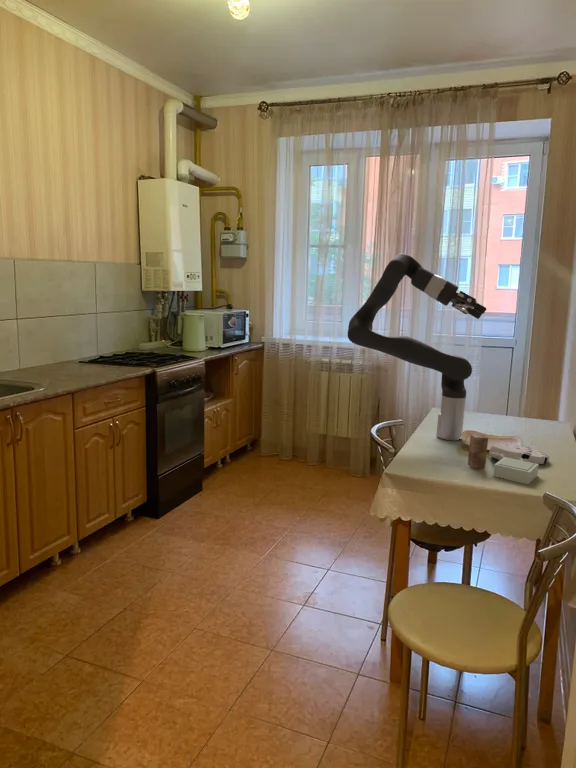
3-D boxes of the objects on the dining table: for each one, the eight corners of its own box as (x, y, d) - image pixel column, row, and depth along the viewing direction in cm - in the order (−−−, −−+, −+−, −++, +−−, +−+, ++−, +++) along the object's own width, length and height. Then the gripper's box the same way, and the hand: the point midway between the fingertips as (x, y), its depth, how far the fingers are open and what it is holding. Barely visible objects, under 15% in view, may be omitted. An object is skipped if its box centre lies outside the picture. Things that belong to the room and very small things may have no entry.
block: (471, 468, 193) (474, 437, 191) (467, 464, 197) (470, 433, 195) (484, 469, 193) (488, 438, 191) (480, 465, 197) (484, 434, 195)
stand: (493, 476, 186) (494, 463, 185) (503, 468, 195) (504, 456, 194) (528, 484, 180) (529, 471, 179) (537, 475, 188) (538, 463, 188)
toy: (478, 449, 216) (491, 462, 197) (481, 437, 216) (494, 449, 196) (536, 460, 215) (555, 475, 195) (539, 448, 214) (559, 462, 194)
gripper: (433, 303, 202) (473, 327, 199) (436, 294, 188) (480, 319, 185) (444, 285, 202) (485, 309, 199) (449, 274, 188) (492, 299, 185)
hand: (482, 314), depth 192 cm, fingers open, 8 cm apart
